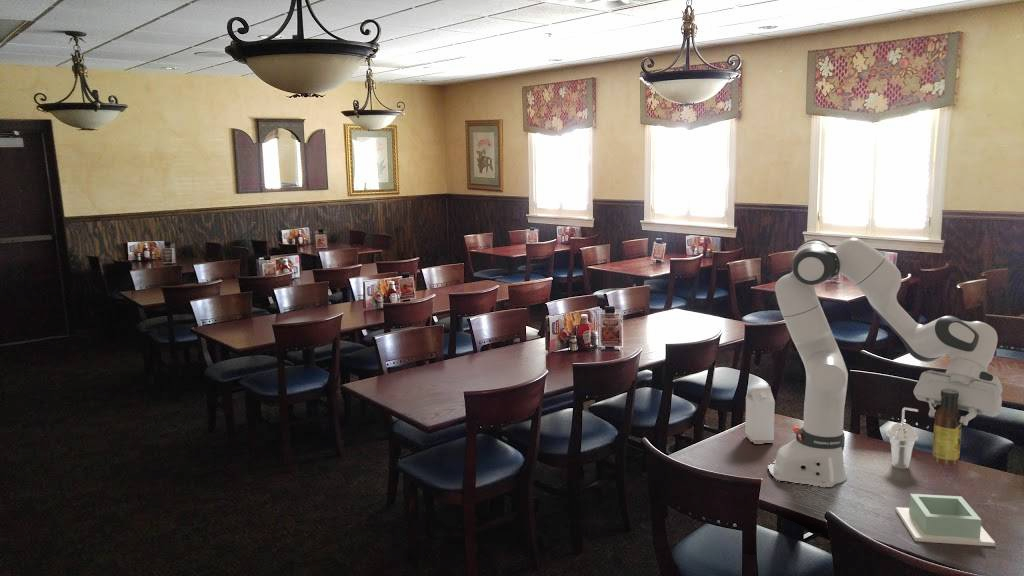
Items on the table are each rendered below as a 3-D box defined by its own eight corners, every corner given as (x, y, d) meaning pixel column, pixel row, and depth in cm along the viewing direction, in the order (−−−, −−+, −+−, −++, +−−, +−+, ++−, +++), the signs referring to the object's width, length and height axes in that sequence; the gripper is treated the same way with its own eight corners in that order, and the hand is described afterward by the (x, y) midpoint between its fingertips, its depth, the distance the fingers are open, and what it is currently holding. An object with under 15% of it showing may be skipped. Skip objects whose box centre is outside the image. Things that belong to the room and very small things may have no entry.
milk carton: (745, 437, 251) (746, 385, 248) (764, 435, 252) (766, 383, 248) (753, 445, 244) (754, 391, 241) (773, 443, 245) (775, 390, 241)
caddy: (915, 541, 182) (916, 519, 181) (895, 510, 198) (896, 490, 197) (994, 546, 179) (996, 523, 177) (968, 514, 194) (970, 493, 193)
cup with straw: (908, 460, 228) (912, 399, 225) (921, 472, 220) (926, 409, 216) (880, 459, 229) (884, 399, 226) (892, 472, 220) (896, 409, 217)
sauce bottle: (962, 467, 190) (969, 395, 186) (936, 466, 191) (942, 395, 187) (952, 457, 196) (958, 387, 193) (927, 456, 198) (933, 386, 194)
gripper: (920, 362, 202) (902, 404, 197) (1005, 378, 186) (987, 424, 182) (926, 374, 205) (908, 416, 201) (1009, 391, 189) (992, 436, 185)
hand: (947, 420), depth 191 cm, fingers closed on sauce bottle, 6 cm apart
